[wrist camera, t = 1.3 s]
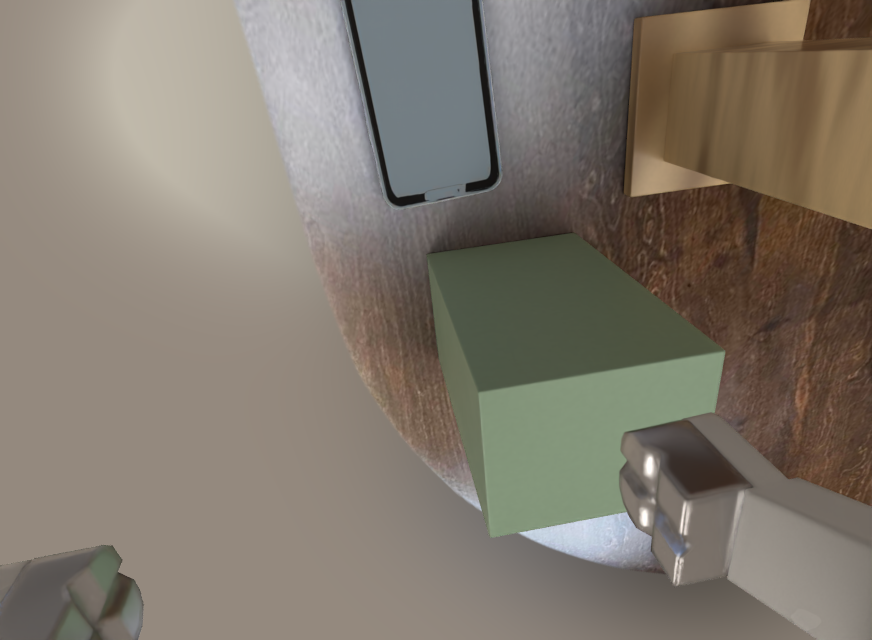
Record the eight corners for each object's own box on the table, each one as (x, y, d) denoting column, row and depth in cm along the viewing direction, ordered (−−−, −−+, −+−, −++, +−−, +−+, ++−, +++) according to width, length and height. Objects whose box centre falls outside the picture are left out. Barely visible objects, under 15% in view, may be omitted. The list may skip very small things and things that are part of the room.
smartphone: (469, -123, 25) (505, 188, 32) (466, -116, 26) (501, 185, 33) (317, -96, 25) (385, 213, 31) (319, -90, 26) (385, 209, 32)
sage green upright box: (438, 358, 38) (489, 538, 24) (426, 253, 34) (478, 392, 20) (576, 336, 38) (706, 497, 24) (578, 231, 35) (733, 349, 21)
